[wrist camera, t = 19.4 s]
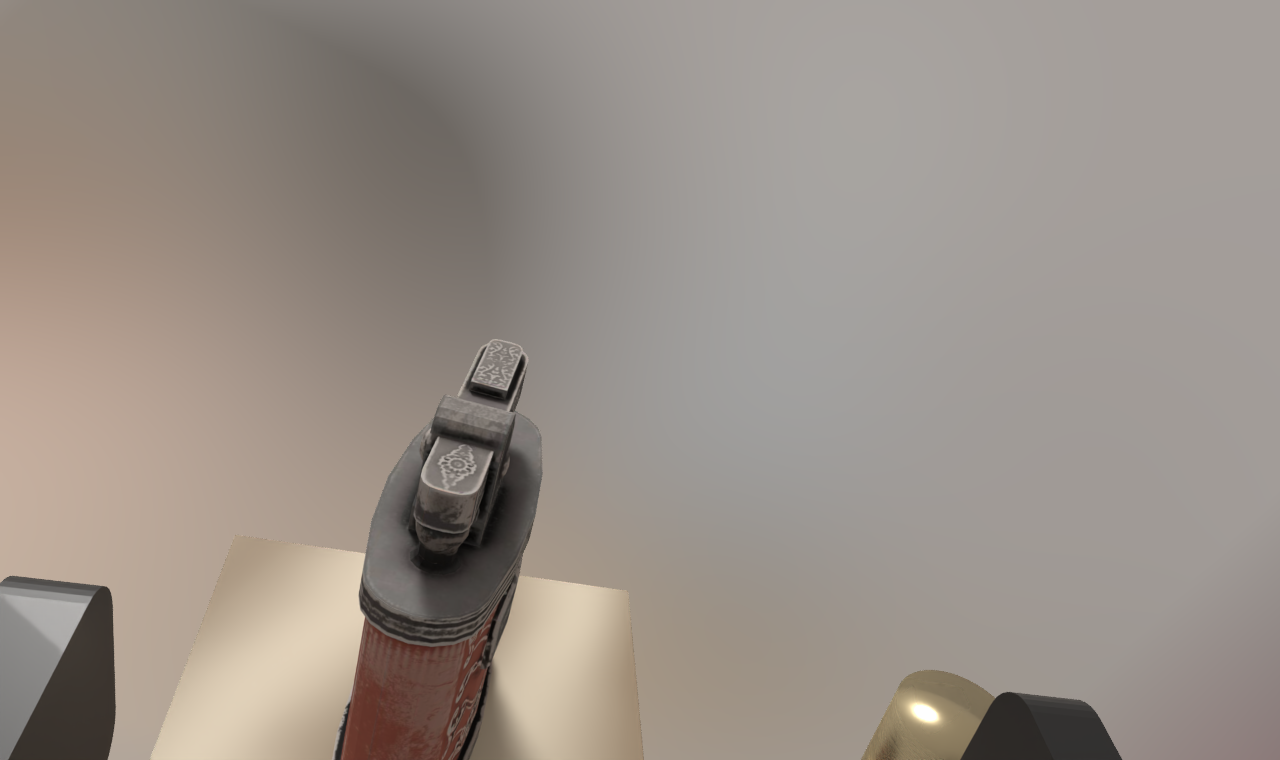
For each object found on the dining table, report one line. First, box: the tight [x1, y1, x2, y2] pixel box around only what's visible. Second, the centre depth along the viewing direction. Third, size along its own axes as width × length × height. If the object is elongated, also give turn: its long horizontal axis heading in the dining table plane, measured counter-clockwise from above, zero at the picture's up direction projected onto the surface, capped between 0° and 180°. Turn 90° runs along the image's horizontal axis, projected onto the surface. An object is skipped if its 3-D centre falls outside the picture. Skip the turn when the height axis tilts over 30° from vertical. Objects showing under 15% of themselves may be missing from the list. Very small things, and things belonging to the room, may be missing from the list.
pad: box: [150, 535, 644, 760], centre depth 28 cm, size 12×12×1 cm
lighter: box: [332, 339, 542, 760], centre depth 26 cm, size 8×3×10 cm, turn 176°
